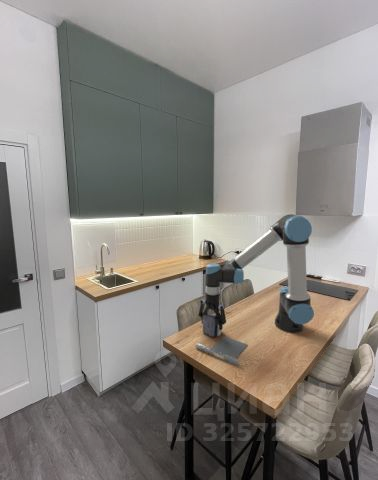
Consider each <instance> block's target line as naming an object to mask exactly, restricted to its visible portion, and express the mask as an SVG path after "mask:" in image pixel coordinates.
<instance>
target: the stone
mask: <svg viewBox="0 0 378 480" xmlns="http://www.w3.org/2000/svg"><path fill="white" fill-rule="evenodd" d="M218 324H219V322H218V320H217V316H216V314H215V313H209V312H207V314H205V315H203V324H202V333H204V334H206V335H207V336H210V337H212V338H216V337H218V336H217V330H218Z"/></svg>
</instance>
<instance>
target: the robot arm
mask: <svg viewBox="0 0 378 480" xmlns="http://www.w3.org/2000/svg"><path fill="white" fill-rule="evenodd" d="M312 230H313V227H312V224H311V222H310V221H309V219H307V218H306V217H304V216H302V215H297V214H286V215H284V216H282V217H281V218H280V219H278V220H277V221H276V222H275V223H274V224H272V225H271V226H270V227H269V230H268V231H266V232H265V233H264V234H262V236H261V237H259V238H258V239H257V240H254V242H252V244H250V245H248V247H246V248H245V249H244V250H243V251H241V252H240V253H239V254H238V255H237V256H235V257H234V258H232V259H231V260H228V261H226V262H225V263H224V265H223V266H224V267H223V268H222V267H221V264H219V263H215V262H213V263H207V264H206V267H205V291H204V292H205V299H204V298H202V300H200V301H199V302H200V306H199V312H198V317H199V318H201V324H202V325H203V315H205V314H207V313H209V310H211V311H213V313H214V314H216V316H217V320H218V322H219V324H218V330H217V336H216V337H219V336H220V335H221V334H222V330H223V327H224V325H225V324H226V323H227V318H226V311H225V304H221V303H220V298H221V297H220V296H221V295H220V292H221V291H220V290H221V284H236V285H237V284H243V283H244V281H245V280H244V278H245V277H244V270H243V269H244V268H245V267H247V266H248V265H249V264H251V263H252V262H253V261H254V260H256V259H257V258H259V257H260V256H261V255H263V254H264V253H265V252H266V251H267V250H269V249H270V248H272V246H274V245H275V244H276V243H278V242H282V243H283V245H284V246H286V262H287V264H286V265H287V285H284V286H281V287H280V290H279V304H278V312H277V314H276V316H275V319H274V326H276V328H278V329H279V330H282V331H285V332H288V333H299V332H302V331H303V329H304V325H306V324H308V323H309V322H311V321H312V320H314V315H315V311H314V309H313V307H312V306H311V305H312V303H311V302H312V301H311V295H310V294H309V292H308V290H307V287H308V286H307V283H308V281H307V280H308V279H307V259H306V258H307V255H306V250H307V249H306V247H307V246H308V244H310V236H311V235H312V232H313V231H312Z"/></svg>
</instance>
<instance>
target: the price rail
mask: <svg viewBox="0 0 378 480" xmlns="http://www.w3.org/2000/svg"><path fill="white" fill-rule="evenodd" d="M195 348H196V349H198V350H200V351H202V352H204V353H207V354H209V355H212V357H213V356H214V357H215V358H218V359H220V360H223V361H225V362H227V363H230V364H232V365H234V366H236V367H237V366H239V363H240V360H239V359H238V358H236V359H235V358H233V357H231V356H228V355H226V354H223V353H221V352H218V351H216V350H214V349H211V348H212V347H208V346H206V345H204V344H201V343H199V342H197V343H196V344H195Z"/></svg>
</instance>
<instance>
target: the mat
mask: <svg viewBox="0 0 378 480" xmlns="http://www.w3.org/2000/svg"><path fill="white" fill-rule="evenodd" d="M247 346H248V344H247V343H244V342H242V341H239V340H236V339H235V338H231V337H228V336H227V335H226V336H225V335H224V336H222V337H221V339H219V340H218V341H217V342H216V343H215V344H214V345H213V346H212V347H210V348H211V349H214V350H216V351H218V352H221V353H223V354H226V355H228V356H231V357H233V358H235V359H238V357H239V356H240V355H241V353H242V352H243V351H244V350H245V349H246V347H247Z"/></svg>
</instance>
